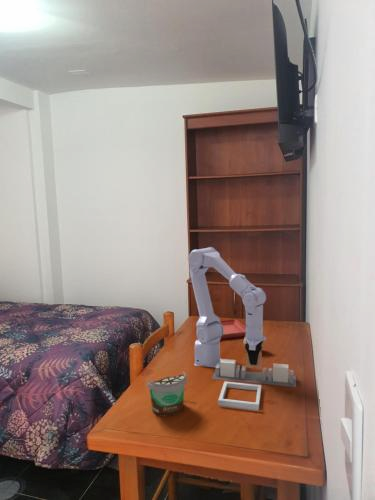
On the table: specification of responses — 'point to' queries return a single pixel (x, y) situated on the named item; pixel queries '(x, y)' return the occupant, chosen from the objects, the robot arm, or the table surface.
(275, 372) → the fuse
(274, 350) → the table surface
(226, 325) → the plant saucer
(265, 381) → the rail
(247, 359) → the block
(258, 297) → the robot arm
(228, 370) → the block
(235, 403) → the tray
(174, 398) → the food container
